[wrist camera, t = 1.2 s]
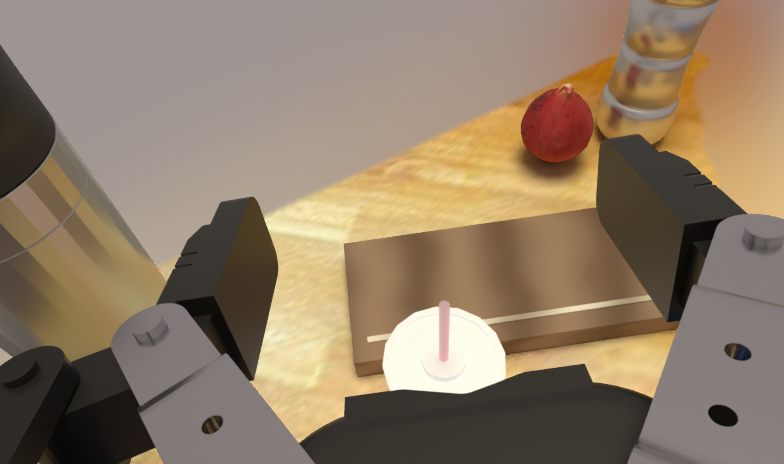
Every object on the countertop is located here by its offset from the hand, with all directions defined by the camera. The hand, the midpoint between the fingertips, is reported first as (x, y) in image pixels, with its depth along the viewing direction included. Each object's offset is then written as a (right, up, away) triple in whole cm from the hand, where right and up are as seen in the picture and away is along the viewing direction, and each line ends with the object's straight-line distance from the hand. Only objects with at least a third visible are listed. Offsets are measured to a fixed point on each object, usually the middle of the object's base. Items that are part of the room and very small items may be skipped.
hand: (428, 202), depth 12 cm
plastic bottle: (+21, +8, +37) cm, 43 cm away
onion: (+13, +6, +35) cm, 38 cm away
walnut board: (+8, -8, +24) cm, 27 cm away
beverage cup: (+2, -13, +21) cm, 24 cm away
